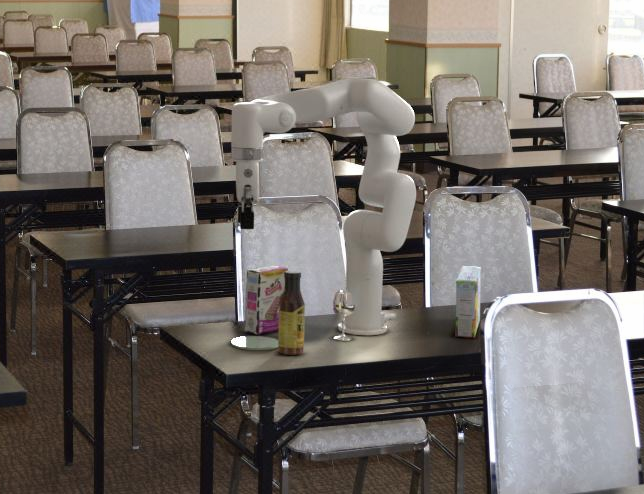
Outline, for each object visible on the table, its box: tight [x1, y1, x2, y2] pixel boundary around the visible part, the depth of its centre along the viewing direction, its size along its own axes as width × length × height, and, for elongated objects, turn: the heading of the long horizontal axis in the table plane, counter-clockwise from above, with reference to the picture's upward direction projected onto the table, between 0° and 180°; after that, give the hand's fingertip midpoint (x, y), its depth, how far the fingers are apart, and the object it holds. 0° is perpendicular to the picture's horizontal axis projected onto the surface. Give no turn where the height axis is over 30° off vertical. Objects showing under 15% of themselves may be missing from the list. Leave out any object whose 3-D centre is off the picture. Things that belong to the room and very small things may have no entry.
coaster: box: [231, 335, 279, 351], centre depth 306 cm, size 12×12×1 cm
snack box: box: [454, 265, 482, 339], centre depth 326 cm, size 21×6×15 cm, turn 164°
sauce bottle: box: [277, 270, 306, 356], centre depth 297 cm, size 6×6×20 cm
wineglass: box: [332, 289, 355, 342], centre depth 313 cm, size 6×6×12 cm
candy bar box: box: [244, 265, 289, 336], centre depth 320 cm, size 11×5×16 cm, turn 135°
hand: (245, 225), depth 296 cm, fingers open, 9 cm apart
